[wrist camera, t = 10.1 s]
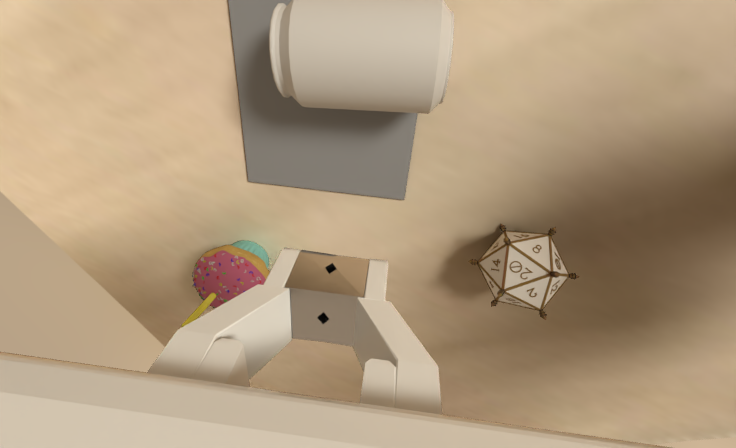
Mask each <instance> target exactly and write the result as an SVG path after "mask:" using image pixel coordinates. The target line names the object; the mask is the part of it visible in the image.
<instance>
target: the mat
mask: <svg viewBox="0 0 736 448" xmlns="http://www.w3.org/2000/svg"><path fill="white" fill-rule="evenodd" d="M228 2H229V11H230V20H231V29H232V38H233V47H234V56H235V65H236V74H237V83H238V92H239V101H240V110H241V119H242V128H243V137H244V146H245V155H246V164H247V173H248V181H249V182H257V183H266V184H274V185H282V186H291V187H299V188H308V189H316V190H324V191H333V192H341V193H350V194H358V195H366V196H375V197H383V198H392V199H400V200H404V198H405V191H406V185H407V178H408V172H409V165H410V159H411V152H412V146H413V139H414V133H415V126H416V120H417V113H405V112H386V111H367V110H348V109H329V108H310V107H303V106H301V105H300V104H299V103H298V102H297V101H296V100H295V99H294V98H293V97H292V96H290V97H289V98H286V97H283V96H282V94H281V93H280V92H279V90H278V88H277V86H276V83H275V81H274V77H273V72H272V68H271V60H270V51H269V32H270V21H271V17H272V14H273V10H274V9H275V7H276V6H277V4H278V3H284V4H285V5H286V6H287V5H288V4H289V3H290V2H291V0H228Z"/></svg>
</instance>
